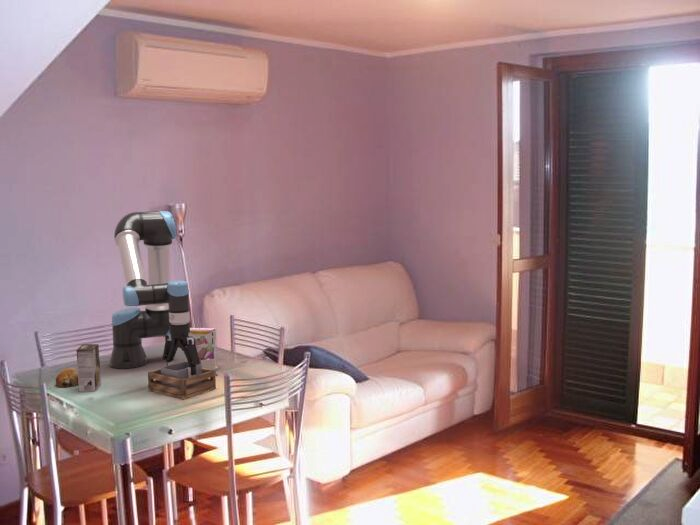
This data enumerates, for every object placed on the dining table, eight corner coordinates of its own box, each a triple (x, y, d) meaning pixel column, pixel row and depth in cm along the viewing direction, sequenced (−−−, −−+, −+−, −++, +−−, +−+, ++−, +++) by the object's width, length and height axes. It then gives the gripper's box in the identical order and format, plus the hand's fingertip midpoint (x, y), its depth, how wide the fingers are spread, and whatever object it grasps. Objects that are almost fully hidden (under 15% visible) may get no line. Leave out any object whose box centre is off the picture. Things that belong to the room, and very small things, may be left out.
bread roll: (86, 391, 304) (90, 371, 307) (70, 387, 295) (74, 366, 297) (65, 389, 308) (69, 369, 310) (48, 385, 298) (53, 364, 301)
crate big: (148, 390, 292) (147, 372, 291) (180, 380, 305) (180, 363, 304) (183, 399, 281) (183, 380, 280) (215, 388, 294) (215, 370, 293)
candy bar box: (187, 369, 321) (186, 330, 319) (191, 366, 326) (189, 327, 324) (214, 369, 320) (213, 330, 318) (217, 366, 325) (216, 327, 323)
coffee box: (84, 385, 301) (81, 344, 299) (101, 384, 301) (99, 343, 299) (78, 392, 292) (75, 349, 290) (95, 391, 292) (93, 349, 290)
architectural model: (199, 376, 312) (198, 358, 311) (216, 374, 315) (215, 356, 314) (201, 378, 309) (200, 360, 308) (218, 376, 312) (217, 358, 311)
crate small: (161, 388, 291) (160, 367, 290) (185, 381, 300) (184, 360, 299) (178, 392, 286) (177, 371, 285) (202, 384, 295) (201, 364, 294)
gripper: (150, 321, 293) (153, 378, 296) (193, 328, 280) (195, 388, 283) (166, 317, 299) (168, 374, 302) (208, 324, 286) (210, 383, 289)
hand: (181, 380), depth 293 cm, fingers open, 10 cm apart
